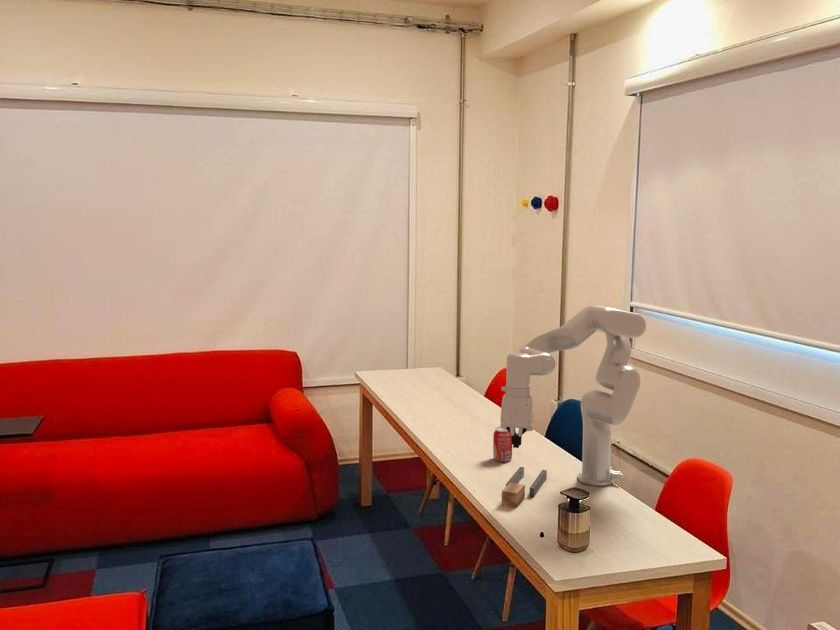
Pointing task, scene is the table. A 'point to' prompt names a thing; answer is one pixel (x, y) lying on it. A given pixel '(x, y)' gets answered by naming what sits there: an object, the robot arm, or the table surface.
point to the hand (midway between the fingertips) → (516, 446)
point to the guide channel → (536, 483)
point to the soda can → (502, 445)
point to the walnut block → (513, 495)
